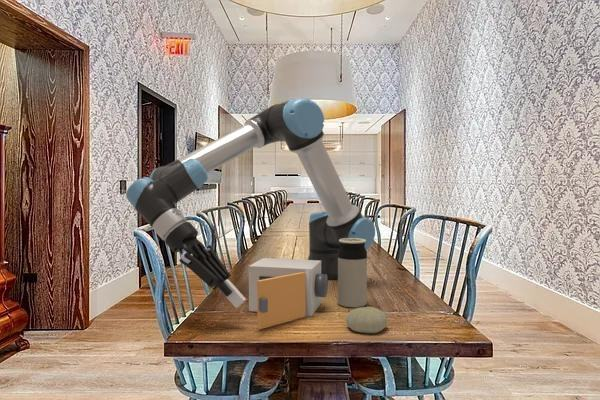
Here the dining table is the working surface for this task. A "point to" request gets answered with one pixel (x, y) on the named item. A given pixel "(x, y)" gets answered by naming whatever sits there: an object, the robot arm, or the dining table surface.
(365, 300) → the travel mug
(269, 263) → the case
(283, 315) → the hatch
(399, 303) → the dining table surface
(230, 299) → the robot arm
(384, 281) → the dining table surface
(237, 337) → the dining table surface
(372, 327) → the sea urchin shell
